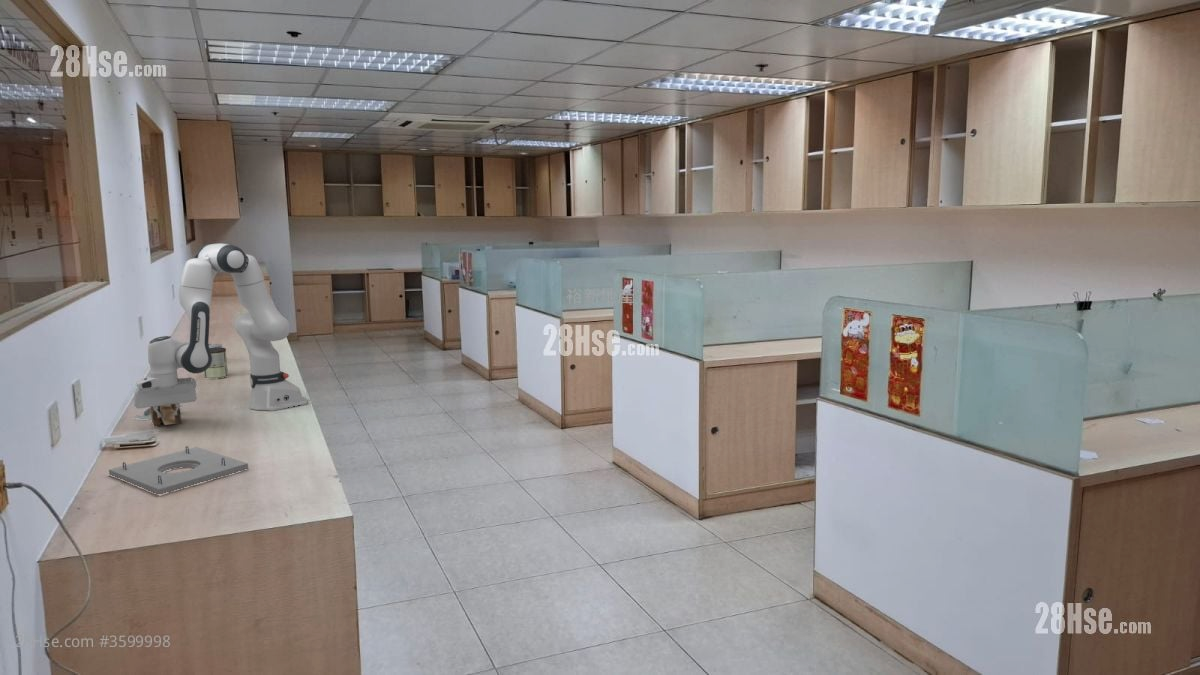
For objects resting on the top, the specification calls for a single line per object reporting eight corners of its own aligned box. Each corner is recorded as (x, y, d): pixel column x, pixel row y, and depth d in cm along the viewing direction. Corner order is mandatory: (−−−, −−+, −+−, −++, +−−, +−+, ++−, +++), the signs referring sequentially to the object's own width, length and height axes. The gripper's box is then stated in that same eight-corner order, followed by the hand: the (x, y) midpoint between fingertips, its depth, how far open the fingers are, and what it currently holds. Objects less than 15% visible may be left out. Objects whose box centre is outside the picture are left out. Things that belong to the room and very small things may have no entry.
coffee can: (200, 378, 364) (198, 349, 362) (221, 374, 373) (219, 346, 370) (211, 380, 359) (208, 351, 356) (232, 377, 367) (230, 348, 364)
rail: (170, 416, 286) (169, 401, 285) (175, 423, 276) (173, 408, 275) (160, 417, 284) (159, 402, 283) (164, 424, 274) (163, 409, 273)
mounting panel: (195, 440, 249) (247, 456, 233) (197, 454, 250) (248, 471, 234) (108, 462, 227) (157, 481, 211) (109, 477, 228) (159, 498, 212)
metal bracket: (153, 398, 302) (186, 400, 299) (158, 410, 304) (190, 412, 301) (127, 417, 289) (161, 419, 286) (132, 429, 291) (166, 431, 289)
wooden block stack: (178, 418, 292) (175, 388, 290) (181, 423, 286) (178, 392, 284) (151, 422, 287) (148, 391, 285) (154, 427, 280) (150, 396, 278)
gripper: (194, 375, 286) (197, 410, 288) (131, 382, 274) (135, 418, 276) (196, 378, 281) (199, 413, 283) (133, 385, 269) (136, 422, 271)
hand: (167, 416), depth 279 cm, fingers closed on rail, 3 cm apart
